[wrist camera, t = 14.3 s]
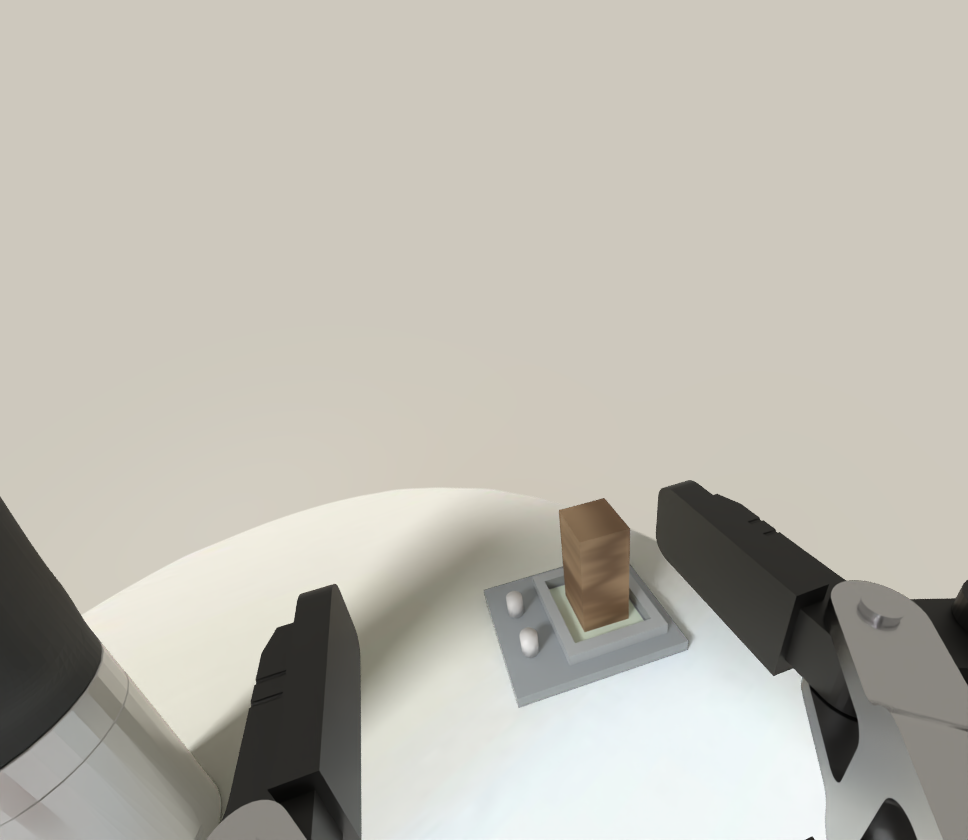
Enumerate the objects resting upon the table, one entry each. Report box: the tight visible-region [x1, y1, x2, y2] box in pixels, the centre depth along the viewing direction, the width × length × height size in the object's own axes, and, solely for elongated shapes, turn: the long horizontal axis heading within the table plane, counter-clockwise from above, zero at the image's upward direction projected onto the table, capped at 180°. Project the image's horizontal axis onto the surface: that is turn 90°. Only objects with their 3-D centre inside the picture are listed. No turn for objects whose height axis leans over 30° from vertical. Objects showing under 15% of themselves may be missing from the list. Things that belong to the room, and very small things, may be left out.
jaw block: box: [559, 498, 630, 632], centre depth 40 cm, size 4×4×11 cm
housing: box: [484, 564, 688, 707], centre depth 42 cm, size 16×12×3 cm
